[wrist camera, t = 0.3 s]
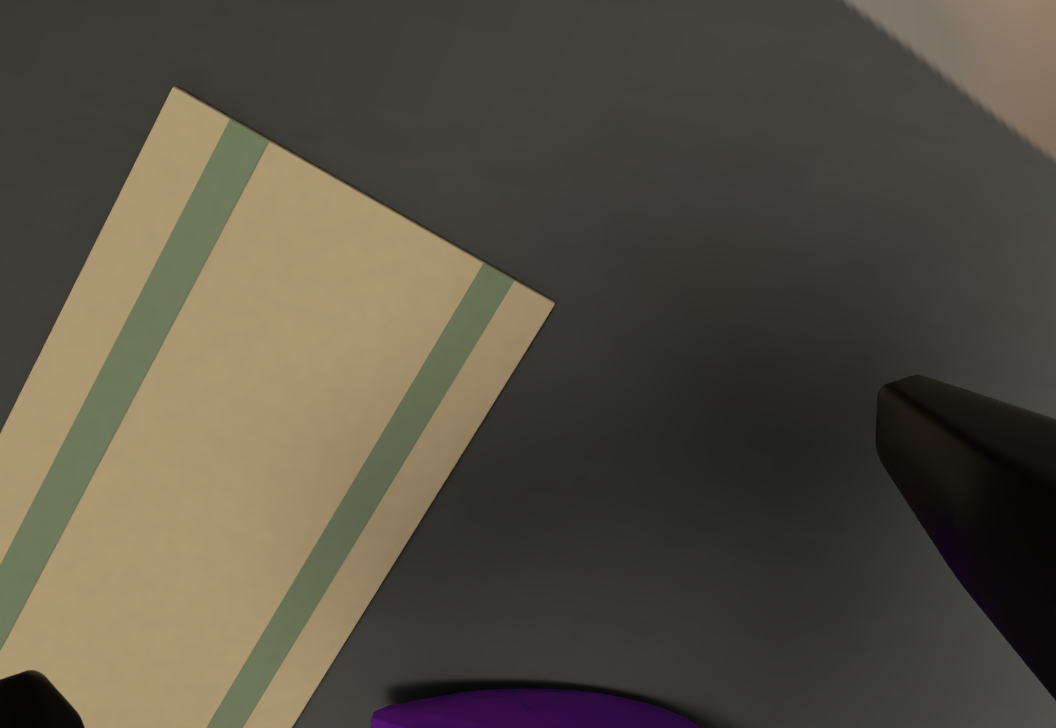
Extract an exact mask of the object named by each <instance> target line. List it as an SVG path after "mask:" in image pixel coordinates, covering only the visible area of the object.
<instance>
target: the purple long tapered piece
mask: <svg viewBox="0 0 1056 728" xmlns="http://www.w3.org/2000/svg"><path fill="white" fill-rule="evenodd" d="M371 728H701V727H699V726H698V725H697V724H695V723H694V722H692V721H690V720H689V719H687V718H685V717H682V716H680V715H678V714H676V713H673V712H671V711H669V710H666V709H663V708H661V707H658V706H655V705H652V704H649V703H644V702H640V701H636V700H631V699H626V698H621V697H616V696H611V695H606V694H601V693H596V692H585V691H577V690H558V689H494V690H479V691H469V692H460V693H455V694H449V695H444V696H438V697H433V698H427V699H422V700H416V701H411V702H405V703H400V704H395V705H389V706H387V707H384V708H382V709H380V710H377V711H375V712H374V713H373V716H372V718H371Z"/></svg>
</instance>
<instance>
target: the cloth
mask: <svg viewBox="0 0 1056 728" xmlns="http://www.w3.org/2000/svg"><path fill="white" fill-rule="evenodd" d="M554 305H555V303H554V302H553V301H552V300H550V299H548V298H547V297H545V296H543V295H541V294H540V293H538V292H536V291H534V290H533V289H531V288H529V287H527V286H526V285H524V284H522V283H520V282H518V281H517V280H515V279H513V278H511V277H510V276H508V275H506V274H504V273H503V272H501V271H499V270H497V269H496V268H494V267H492V266H490V265H489V264H487V263H485V262H483V261H482V260H480V259H478V258H476V257H475V256H473V255H471V254H469V253H468V252H466V251H464V250H462V249H461V248H459V247H457V246H455V245H454V244H452V243H450V242H448V241H446V240H445V239H443V238H441V237H439V236H438V235H436V234H434V233H432V232H431V231H429V230H427V229H425V228H424V227H422V226H420V225H418V224H417V223H415V222H413V221H411V220H410V219H408V218H406V217H404V216H403V215H401V214H399V213H397V212H396V211H394V210H392V209H390V208H389V207H387V206H385V205H383V204H382V203H380V202H378V201H376V200H374V199H373V198H371V197H369V196H367V195H366V194H364V193H362V192H360V191H359V190H357V189H355V188H353V187H352V186H350V185H348V184H346V183H345V182H343V181H341V180H339V179H338V178H336V177H334V176H332V175H331V174H329V173H327V172H325V171H324V170H322V169H320V168H318V167H317V166H315V165H313V164H311V163H310V162H308V161H306V160H304V159H303V158H301V157H299V156H297V155H295V154H294V153H292V152H290V151H288V150H287V149H285V148H283V147H281V146H280V145H278V144H276V143H274V142H273V141H271V140H269V139H267V138H266V137H264V136H262V135H260V134H259V133H257V132H255V131H253V130H252V129H250V128H248V127H246V126H245V125H243V124H241V123H239V122H238V121H236V120H234V119H232V118H231V117H229V116H227V115H225V114H223V113H222V112H220V111H218V110H216V109H215V108H213V107H211V106H209V105H208V104H206V103H204V102H202V101H201V100H199V99H197V98H195V97H194V96H192V95H190V94H188V93H187V92H185V91H183V90H181V89H180V88H178V87H173V88H172V90H171V92H170V94H169V96H168V98H167V100H166V102H165V104H164V106H163V108H162V110H161V112H160V114H159V116H158V118H157V120H156V122H155V124H154V126H153V128H152V130H151V132H150V134H149V136H148V138H147V140H146V142H145V144H144V146H143V148H142V150H141V152H140V154H139V156H138V158H137V160H136V162H135V164H134V166H133V168H132V170H131V172H130V174H129V176H128V178H127V180H126V182H125V184H124V186H123V188H122V190H121V192H120V194H119V196H118V198H117V200H116V202H115V204H114V206H113V208H112V210H111V212H110V214H109V216H108V218H107V220H106V222H105V224H104V226H103V228H102V230H101V232H100V234H99V236H98V238H97V240H96V242H95V244H94V246H93V248H92V250H91V252H90V254H89V257H88V259H87V261H86V263H85V265H84V267H83V269H82V271H81V273H80V275H79V277H78V279H77V281H76V283H75V285H74V287H73V289H72V291H71V293H70V295H69V297H68V299H67V301H66V303H65V305H64V307H63V309H62V311H61V313H60V315H59V317H58V319H57V321H56V323H55V325H54V327H53V329H52V331H51V333H50V335H49V337H48V339H47V341H46V343H45V345H44V347H43V349H42V351H41V353H40V355H39V357H38V359H37V361H36V363H35V365H34V367H33V369H32V371H31V373H30V375H29V377H28V379H27V381H26V383H25V385H24V387H23V389H22V391H21V393H20V395H19V397H18V399H17V401H16V403H15V405H14V407H13V409H12V411H11V413H10V415H9V417H8V419H7V421H6V423H5V425H4V427H3V429H2V431H1V433H0V679H3V678H6V677H9V676H12V675H15V674H18V673H21V672H24V671H27V670H36V671H38V672H41V673H42V674H44V675H45V676H46V677H47V678H48V680H49V681H50V682H51V683H52V684H53V685H54V686H55V687H56V688H57V690H58V691H59V692H60V693H61V694H62V695H63V696H64V697H65V699H66V700H67V701H68V702H69V703H70V704H71V705H72V706H73V707H74V709H75V710H76V711H77V712H78V714H79V715H80V717H81V719H82V721H83V724H84V727H85V728H292V727H293V725H294V724H295V722H296V720H297V719H298V717H299V716H300V714H301V712H302V711H303V709H304V707H305V706H306V704H307V703H308V701H309V699H310V698H311V696H312V695H313V693H314V691H315V690H316V688H317V687H318V685H319V683H320V682H321V680H322V679H323V677H324V675H325V674H326V672H327V670H328V669H329V667H330V666H331V664H332V662H333V661H334V659H335V658H336V656H337V654H338V653H339V651H340V650H341V648H342V646H343V645H344V643H345V642H346V640H347V638H348V637H349V635H350V633H351V632H352V630H353V629H354V627H355V625H356V624H357V622H358V621H359V619H360V617H361V616H362V614H363V613H364V611H365V609H366V608H367V606H368V604H369V603H370V601H371V600H372V598H373V596H374V595H375V593H376V592H377V590H378V588H379V587H380V585H381V584H382V582H383V580H384V579H385V577H386V576H387V574H388V572H389V571H390V569H391V567H392V566H393V564H394V563H395V561H396V559H397V558H398V556H399V555H400V553H401V551H402V550H403V548H404V547H405V545H406V543H407V542H408V540H409V538H410V537H411V535H412V534H413V532H414V530H415V529H416V527H417V526H418V524H419V522H420V521H421V519H422V518H423V516H424V514H425V513H426V511H427V510H428V508H429V506H430V505H431V503H432V501H433V500H434V498H435V497H436V495H437V493H438V492H439V490H440V489H441V487H442V485H443V484H444V482H445V481H446V479H447V477H448V476H449V474H450V472H451V471H452V469H453V468H454V466H455V464H456V463H457V461H458V460H459V458H460V456H461V455H462V453H463V452H464V450H465V448H466V447H467V445H468V444H469V442H470V440H471V439H472V437H473V435H474V434H475V432H476V431H477V429H478V427H479V426H480V424H481V423H482V421H483V419H484V418H485V416H486V415H487V413H488V411H489V410H490V408H491V406H492V405H493V403H494V402H495V400H496V398H497V397H498V395H499V394H500V392H501V390H502V389H503V387H504V386H505V384H506V382H507V381H508V379H509V378H510V376H511V374H512V373H513V371H514V369H515V368H516V366H517V365H518V363H519V361H520V360H521V358H522V357H523V355H524V353H525V352H526V350H527V349H528V347H529V345H530V344H531V342H532V341H533V339H534V337H535V336H536V334H537V332H538V331H539V329H540V328H541V326H542V324H543V323H544V321H545V320H546V318H547V316H548V315H549V313H550V312H551V310H552V308H553V307H554Z"/></svg>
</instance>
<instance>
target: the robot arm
mask: <svg viewBox="0 0 1056 728" xmlns="http://www.w3.org/2000/svg"><path fill="white" fill-rule="evenodd" d="M876 449H877V453H878V456H879V458H880V461H881V463H882V464H883V466H884V468H885V469H886V471H887V472H888V474H889V475H890V477H891V478H892V480H893V482H894V483H895V485H896V486H897V488H898V489H899V491H900V492H901V494H902V495H903V497H904V498H905V500H906V502H907V503H908V505H909V506H910V508H911V509H912V511H913V512H914V514H915V515H916V517H917V519H918V520H919V522H920V523H921V525H922V526H923V528H924V529H925V531H926V532H927V534H928V536H929V537H930V539H931V540H932V542H933V543H934V545H935V546H936V548H937V549H938V551H939V552H940V554H941V556H942V557H943V559H944V560H945V562H946V563H947V564H948V566H949V567H950V569H951V570H952V572H953V573H954V575H955V576H956V578H957V579H958V580H959V581H960V583H961V584H962V585H963V587H964V588H965V589H966V591H967V592H968V593H969V594H970V596H971V597H972V598H973V599H974V601H975V602H976V603H977V604H978V606H979V607H980V608H981V609H982V610H983V612H984V613H985V614H986V615H987V617H988V618H989V619H990V620H991V622H992V623H993V624H994V625H995V626H996V628H997V629H998V630H999V631H1000V633H1001V634H1002V635H1003V636H1004V638H1005V639H1006V640H1007V641H1008V642H1009V644H1010V645H1011V646H1012V647H1013V649H1014V650H1015V651H1016V652H1017V654H1018V655H1019V656H1020V657H1021V658H1022V660H1023V661H1024V662H1025V663H1026V665H1027V666H1028V667H1029V668H1030V669H1031V671H1032V672H1033V673H1034V674H1035V676H1036V677H1037V678H1038V679H1039V681H1040V682H1041V683H1042V684H1043V685H1044V687H1045V688H1046V689H1047V690H1048V692H1049V693H1050V694H1051V695H1052V697H1053V698H1054V699H1055V700H1056V419H1054V418H1051V417H1048V416H1044V415H1041V414H1038V413H1035V412H1032V411H1029V410H1026V409H1023V408H1020V407H1017V406H1014V405H1011V404H1008V403H1005V402H1002V401H998V400H995V399H992V398H989V397H986V396H983V395H980V394H977V393H974V392H971V391H968V390H965V389H962V388H959V387H955V386H952V385H949V384H946V383H943V382H940V381H937V380H934V379H931V378H928V377H924V376H920V375H914V376H909V377H906V378H903V379H900V380H897V381H894V382H891V383H888V384H886V385H884V386H883V387H881V389H880V391H879V393H878V398H877V418H876ZM0 728H85V727H84V724H83V721H82V719H81V717H80V715H79V714H78V712H77V711H76V710H75V709H74V707H73V706H72V705H71V704H70V703H69V702H68V701H67V700H66V699H65V697H64V696H63V695H62V694H61V693H60V692H59V691H58V690H57V688H56V687H55V686H54V685H53V684H52V683H51V682H50V681H49V680H48V678H47V677H46V676H45V675H44V674H42V673H41V672H38V671H36V670H27V671H24V672H21V673H18V674H15V675H12V676H9V677H6V678H3V679H0Z"/></svg>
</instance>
